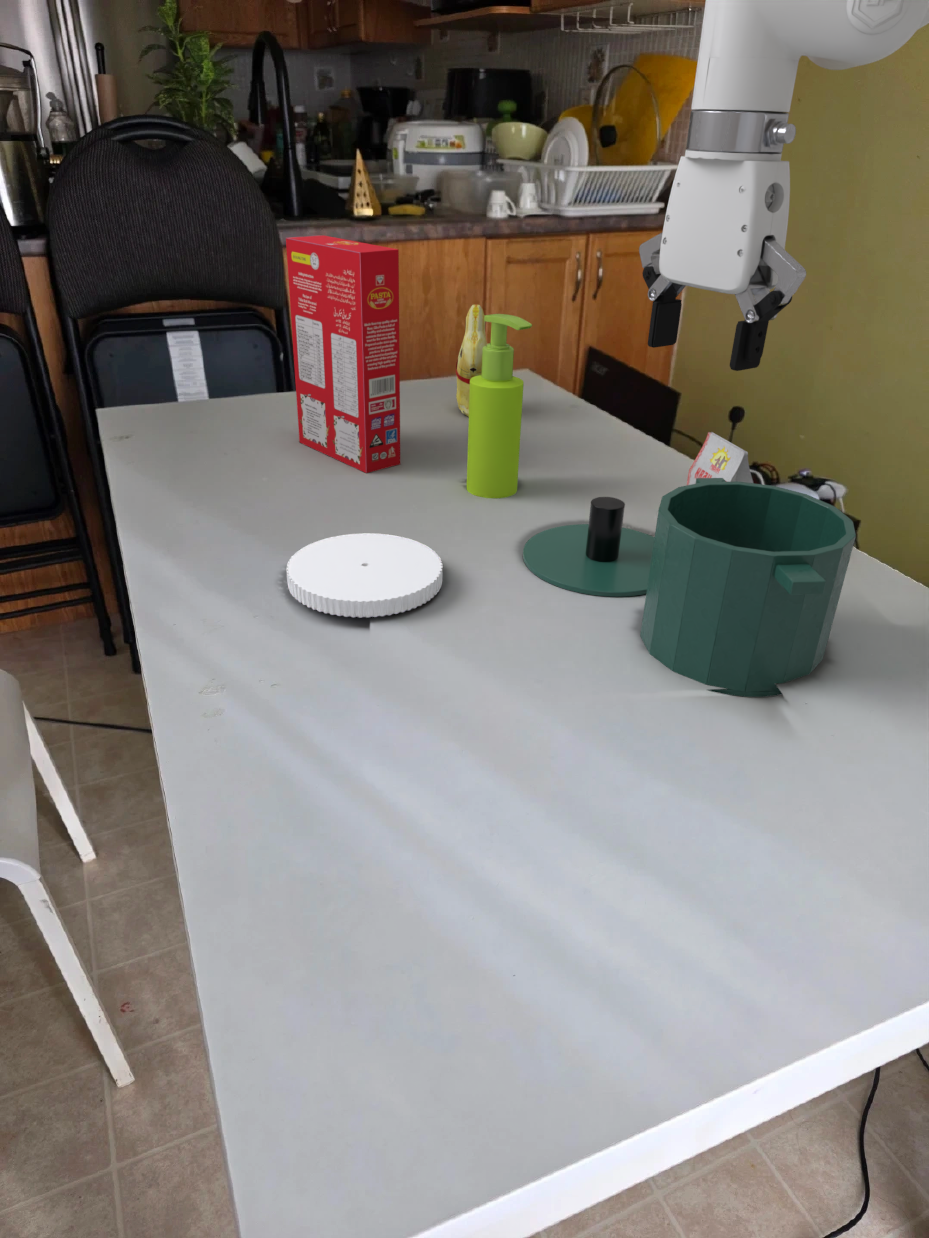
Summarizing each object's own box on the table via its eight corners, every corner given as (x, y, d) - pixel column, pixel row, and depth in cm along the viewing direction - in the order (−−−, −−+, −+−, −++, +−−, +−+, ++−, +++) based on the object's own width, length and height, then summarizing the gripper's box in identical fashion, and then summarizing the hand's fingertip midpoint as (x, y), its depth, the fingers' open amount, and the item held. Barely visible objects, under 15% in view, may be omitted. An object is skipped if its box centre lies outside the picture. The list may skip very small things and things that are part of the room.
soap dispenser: (497, 509, 98) (506, 324, 89) (456, 491, 103) (460, 313, 93) (533, 497, 102) (546, 318, 92) (492, 480, 106) (500, 307, 96)
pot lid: (654, 532, 94) (662, 473, 91) (702, 600, 81) (714, 534, 78) (511, 534, 93) (515, 474, 89) (537, 604, 79) (542, 537, 76)
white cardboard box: (710, 518, 98) (725, 430, 93) (744, 543, 92) (762, 451, 88) (680, 521, 97) (694, 432, 92) (713, 546, 91) (730, 453, 86)
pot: (763, 590, 83) (790, 469, 77) (868, 714, 66) (913, 570, 60) (614, 594, 82) (629, 470, 76) (681, 721, 64) (708, 574, 58)
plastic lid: (418, 637, 74) (418, 611, 72) (262, 614, 76) (260, 589, 75) (458, 566, 86) (458, 543, 84) (322, 549, 88) (320, 525, 87)
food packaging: (400, 464, 110) (398, 249, 98) (366, 473, 107) (360, 252, 95) (332, 434, 120) (323, 235, 107) (299, 442, 117) (285, 237, 104)
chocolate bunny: (453, 420, 127) (455, 312, 120) (456, 399, 137) (459, 297, 129) (500, 422, 127) (506, 313, 120) (500, 400, 137) (505, 299, 129)
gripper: (859, 143, 66) (808, 373, 75) (687, 136, 78) (660, 334, 87) (795, 142, 62) (750, 384, 71) (625, 135, 75) (604, 342, 83)
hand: (701, 356), depth 79 cm, fingers open, 9 cm apart
